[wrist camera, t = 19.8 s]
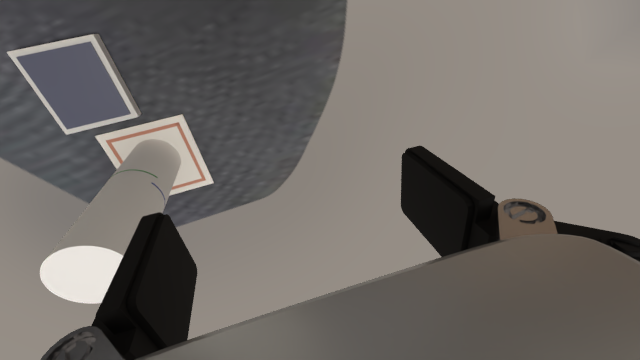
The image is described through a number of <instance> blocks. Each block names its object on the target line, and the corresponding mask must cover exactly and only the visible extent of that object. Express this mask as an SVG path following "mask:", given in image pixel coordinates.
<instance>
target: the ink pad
mask: <svg viewBox="0 0 640 360" xmlns="http://www.w3.org/2000/svg"><path fill="white" fill-rule="evenodd" d="M7 53H8V54H9V56H10V57H11V59H12V60H13V61H14V63H15V64H16V66H17V67H18V68H19V70H20V71H21V73H22V74H23V75H24V77H25V78H26V80H27V81H28V82H29V84H30V85H31V86H32V88H33V89H34V91H35V92H36V93H37V95H38V96H39V98H40V99H41V100H42V102H43V103H44V105H45V106H46V107H47V109H48V110H49V112H50V113H51V114H52V116H53V117H54V118H55V120H56V121H57V123H58V124H59V125H60V127H61V128H62V130H63V131H64V132H65V134H66V135H67V134H71V133H75V132H79V131H83V130H87V129H91V128H95V127H99V126H104V125H108V124H112V123H116V122H120V121H124V120H128V119H132V118H136V117H139V116H140V115H141V112H140V110H139V108H138V106H137V104H136V103H135V101H134V99H133V97H132V95H131V93H130V91H129V90H128V88H127V86H126V84H125V82H124V80H123V78H122V77H121V75H120V73H119V71H118V69H117V67H116V65H115V64H114V62H113V60H112V58H111V56H110V54H109V52H108V51H107V49H106V47H105V45H104V43H103V41H102V40H101V38H100V36H99V34H92V35H87V36H82V37H77V38H72V39H67V40H62V41H58V42H53V43H48V44H43V45H38V46H33V47H29V48H24V49H19V50H14V51H9V52H7Z"/></svg>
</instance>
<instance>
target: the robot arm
mask: <svg viewBox="0 0 640 360" xmlns="http://www.w3.org/2000/svg"><path fill="white" fill-rule="evenodd" d="M401 182H402V183H401V208H402V211H403V212H404V214H405V215H406V216H407V217H408V218H409V220H410V221H411V222H412V223H413V224H414V225H415V226H416V228H417V229H418V230H419V231H420V232H421V233H422V235H423V236H424V237H425V238H426V239H427V240H428V241H429V243H430V244H431V245H432V246H433V247H434V248H435V249H436V251H437V252H438V253H439V254H440V255H441V256H442V257H441V258H438V259H435V260H432V261H428V262H425V263H422V264H419V265H416V266H413V267H409V268H406V269H404V270H400V271H397V272H394V273H391V274H387V275H384V276H381V277H378V278H375V279H372V280H369V281H366V282H363V283H359V284H356V285H353V286H350V287H347V288H344V289H341V290H338V291H335V292H332V293H328V294H326V295H323V296H319V297H316V298H313V299H310V300H307V301H304V302H301V303H298V304H295V305H292V306H289V307H286V308H283V309H280V310H277V311H273V312H271V313H267V314H265V315H261V316H259V317H255V318H252V319H249V320H246V321H243V322H240V323H238V324H234V325H231V326H228V327H225V328H222V329H219V330H216V331H213V332H210V333H207V334H205V335H202V336H199V337H196V338H193V339H190V340H187V338H188V331H189V324H190V317H191V311H192V304H193V297H194V291H195V284H196V277H197V268H196V264H195V262H194V260H193V259H192V257H191V255H190V253H189V251H188V249H187V248H186V246H185V244H184V242H183V240H182V238H181V237H180V235H179V233H178V231H177V229H176V227H175V226H174V224H173V222H172V220H171V218H170V217H169V215H167V214H166V215H163V214H162V213H161V212H158V213H154V214H150V215H146V216H143V217H142V218H141V220H140V222H139V224H138V226H137V228H136V230H135V233H134V235H133V237H132V239H131V241H130V243H129V245H128V247H127V250H126V252H125V254H124V256H123V258H122V260H121V262H120V264H119V267H118V269H117V271H116V273H115V275H114V277H113V279H112V281H111V283H110V286H109V288H108V290H107V292H106V294H105V296H104V298H103V300H102V303H101V305H100V307H99V309H98V311H97V313H96V317H95V319H94V322H93V324H92V326H88V327H83V328H80V329H78V330H76V331H73V332H71V333H70V334H68V335H66V336H65V337H63V338H62V339H60V340H59V341H58V342H57V343H56V344H54V345H53V346H52V347H51V348H50V349H49V350H48V351H47V352H46V354H45V355H44V356H43V357H42V358H41V360H640V239H638V238H635V237H633V236H629V235H625V234H621V233H616V232H610V231H605V230H600V229H595V228H589V227H584V226H579V225H573V224H567V223H563V222H557V221H554V220H553V216H552V214H551V213H550V211H548V209H546V208H545V207H544V206H542V205H540V204H538V203H535V202H533V201H530V200H525V199H515V198H514V199H507V200H504V201H502V202H501V203H500V204H498V203H497V202H496V201H494V199H495V196H494V195H492V194H491V193H490V192H488V191H487V190H485V189H484V188H483V187H481V186H479V185H478V184H477V183H475V182H474V181H472V180H471V179H469V178H468V177H466V176H465V175H463V174H462V173H461V172H459V171H458V170H456V169H455V168H453V167H452V166H450V165H448V164H447V163H446V162H444V161H443V160H441V159H440V158H439V157H437V156H436V155H434V154H433V153H431V152H430V151H428V150H427V149H425V148H424V147H422V146H417V147H413V148H408V149H407V150H406V151H405V153H403V155H402V179H401Z"/></svg>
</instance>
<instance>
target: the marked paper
mask: <svg viewBox="0 0 640 360" xmlns="http://www.w3.org/2000/svg"><path fill="white" fill-rule="evenodd" d="M95 137H96V138H97V140H98V141H99V143H100V144H101V146H102V147H103V149H104V151H105V152H106V154H107V155H108V157H109V158H110V160H111V161H112V163H113V164H114V166H115V167H116V169H118V168H119V166H120V165H121V164H122V163H123V161H124V160H125V159H126V158H127V156H128V155H129V154H130V153H131V151H132V150H133V149H134V148H135V147H136V145H137V144H139V143H140V142H142V141H144V140H148V139H158V140H162V141H165V142H167V143H169V144H171V145H172V146H173V147H174V148H175V149H176V150H177V151H178V153H179V155H180V158H181V165H180V168H179V171H178V174H177V176H176V179H175V181H174V184H173V187H172V189H171V192H170V194H169V195H173V194H176V193H180V192H183V191H187V190H191V189H194V188H198V187H201V186H205V185H208V184H212V183H214V182H213V180H212V177H211V175H210V173H209V171H208V169H207V166H206V164H205V162H204V160H203V158H202V155H201V153H200V151H199V149H198V147H197V145H196V142H195V140H194V138H193V136H192V134H191V131H190V129H189V127H188V125H187V123H186V121H185V118H184V116H183V114H181V115H177V116H173V117H169V118H165V119H161V120H157V121H153V122H149V123H145V124H141V125H137V126H133V127H129V128H125V129H121V130H117V131H113V132H109V133H105V134H101V135H97V136H95Z"/></svg>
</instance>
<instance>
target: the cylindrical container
mask: <svg viewBox="0 0 640 360" xmlns="http://www.w3.org/2000/svg"><path fill="white" fill-rule="evenodd" d="M180 165H181V158H180V155H179V153H178V151H177V150H176V149H175V148H174V147H173V146H172V145H171V144H169V143H167V142H165V141H162V140H158V139H148V140H144V141H142V142H140V143H139V144H137V145H136V147H135V148H134V149H133V150H132V151H131V153H130V154H129V155H128V156H127V158H126V159H125V160H124V161H123V163H122V164H121V165H120V166H119V168H118V169H117V170H116V171H115V173H114V174H113V175H112V176H111V178H110V179H109V180H108V181H107V183H106V184H105V185H104V186H103V188H102V189H101V190H100V192H99V193H98V194H97V195H96V197H95V198H94V199H93V200H92V202H91V203H90V204H89V205H88V207H87V208H86V209H85V211H84V212H83V213H82V214H81V215H80V217H79V218H78V219H77V220H76V222H75V223H74V224H73V226H72V227H71V228H70V229H69V230H68V232H67V233H66V234H65V235H64V237H63V238H62V239H61V240H60V242H59V243H58V244H57V246H56V247H55V248H54V249H53V251H52V252H51V253H50V254H49V256H48V257H47V258H46V260H45V261H44V262H43V264H42V266H41V268H40V277H41V280H42V282H43V284H44V285H45V286H46V287H47V288H48V289H49V290H50V291H51V292H52V293H54V294H55V295H57V296H59V297H62V298H64V299H67V300H70V301H74V302H79V303H102V300H103V298H104V296H105V294H106V292H107V290H108V288H109V286H110V283H111V281H112V279H113V277H114V275H115V273H116V271H117V269H118V267H119V264H120V262H121V260H122V258H123V256H124V254H125V252H126V250H127V247H128V245H129V243H130V241H131V239H132V237H133V235H134V233H135V230H136V228H137V226H138V224H139V222H140V220H141V218H142V217H143V216H146V215H150V214H154V213H158V212H161V213H163V210H164V208H165V205H166V202H167V200H168V197H169V194H170V192H171V189H172V187H173V184H174V181H175V179H176V176H177V174H178V171H179V168H180Z"/></svg>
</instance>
